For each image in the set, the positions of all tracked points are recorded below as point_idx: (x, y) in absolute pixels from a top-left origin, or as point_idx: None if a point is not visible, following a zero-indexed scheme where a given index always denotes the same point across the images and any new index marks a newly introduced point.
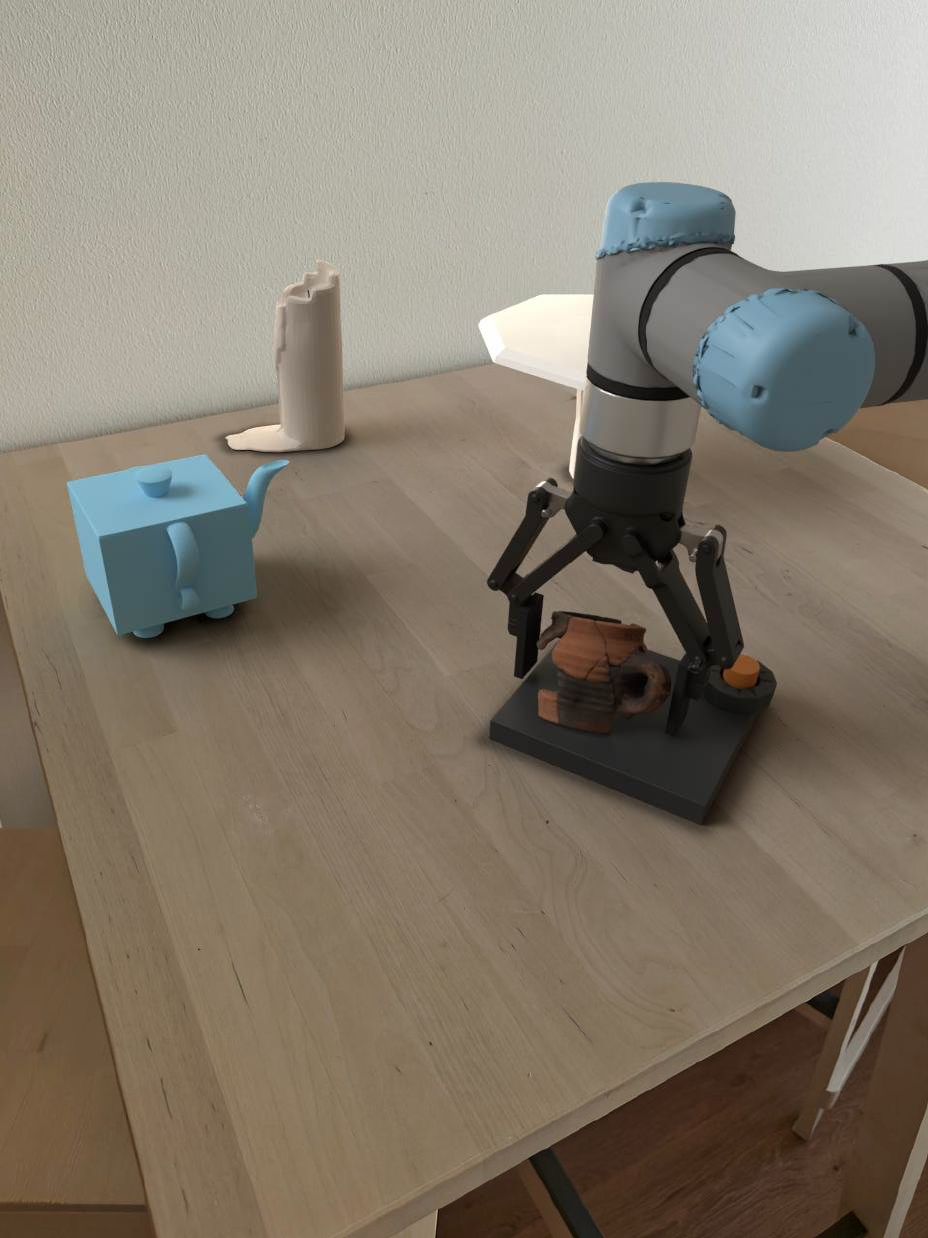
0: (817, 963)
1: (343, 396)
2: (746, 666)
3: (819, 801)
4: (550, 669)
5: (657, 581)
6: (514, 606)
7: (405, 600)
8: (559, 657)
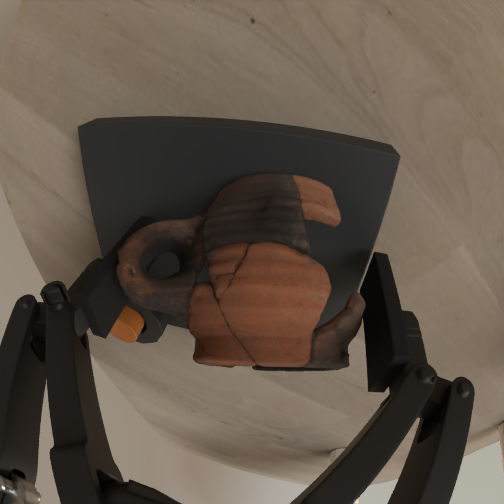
0: (5, 47)
1: (501, 450)
2: (115, 328)
3: (49, 205)
4: (339, 284)
5: (57, 456)
6: (418, 359)
7: (494, 330)
8: (312, 277)
